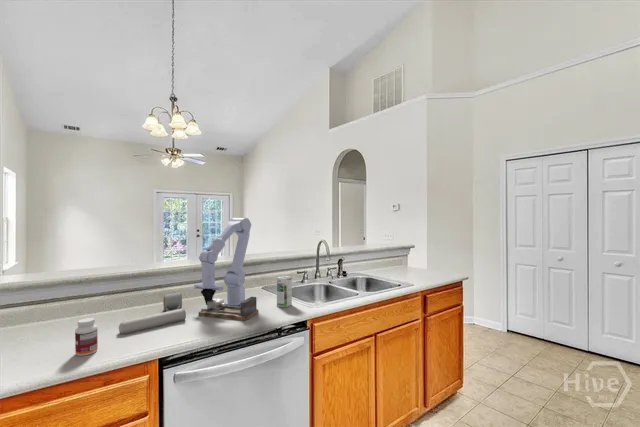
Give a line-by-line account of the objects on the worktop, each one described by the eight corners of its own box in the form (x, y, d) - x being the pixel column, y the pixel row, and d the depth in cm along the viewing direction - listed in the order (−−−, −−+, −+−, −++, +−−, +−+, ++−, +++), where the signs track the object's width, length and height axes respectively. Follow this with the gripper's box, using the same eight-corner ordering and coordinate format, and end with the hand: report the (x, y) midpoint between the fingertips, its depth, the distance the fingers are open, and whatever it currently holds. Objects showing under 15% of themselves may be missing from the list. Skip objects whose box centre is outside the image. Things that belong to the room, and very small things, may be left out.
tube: (120, 326, 126) (186, 312, 143) (117, 319, 130) (182, 305, 147) (119, 338, 127) (185, 322, 145) (116, 330, 131) (180, 316, 148)
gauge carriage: (203, 312, 150) (203, 303, 150) (215, 306, 159) (215, 298, 159) (218, 313, 148) (218, 304, 148) (229, 308, 156) (229, 299, 156)
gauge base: (198, 315, 151) (198, 299, 151) (214, 308, 162) (214, 292, 162) (245, 320, 144) (245, 303, 144) (258, 312, 155) (258, 296, 155)
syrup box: (276, 306, 165) (276, 277, 165) (282, 303, 170) (282, 275, 170) (285, 307, 163) (285, 278, 162) (292, 304, 168) (292, 276, 168)
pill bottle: (77, 350, 114) (76, 318, 113) (98, 347, 116) (98, 315, 116) (73, 357, 108) (73, 324, 108) (96, 354, 111) (96, 321, 111)
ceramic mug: (164, 307, 163) (163, 292, 163) (182, 305, 166) (181, 290, 166) (162, 314, 153) (162, 298, 153) (182, 312, 156) (182, 296, 156)
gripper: (189, 276, 155) (190, 305, 155) (216, 278, 150) (216, 308, 150) (199, 273, 161) (199, 301, 161) (225, 275, 157) (225, 304, 157)
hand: (208, 304), depth 156 cm, fingers closed
